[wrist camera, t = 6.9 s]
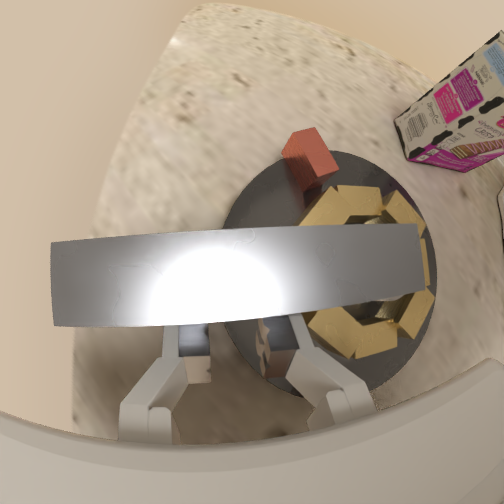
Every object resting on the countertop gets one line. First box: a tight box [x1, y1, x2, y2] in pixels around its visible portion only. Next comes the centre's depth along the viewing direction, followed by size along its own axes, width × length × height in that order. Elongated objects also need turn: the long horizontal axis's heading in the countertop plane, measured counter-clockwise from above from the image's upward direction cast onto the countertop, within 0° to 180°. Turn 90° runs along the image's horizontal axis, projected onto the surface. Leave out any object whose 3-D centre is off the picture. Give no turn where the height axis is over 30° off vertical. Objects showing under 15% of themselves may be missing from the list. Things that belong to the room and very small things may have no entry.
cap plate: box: [223, 127, 437, 398], centre depth 16 cm, size 17×17×6 cm
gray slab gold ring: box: [51, 185, 435, 359], centre depth 11 cm, size 18×10×9 cm, turn 95°
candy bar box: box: [394, 30, 504, 173], centre depth 15 cm, size 11×5×16 cm, turn 96°
